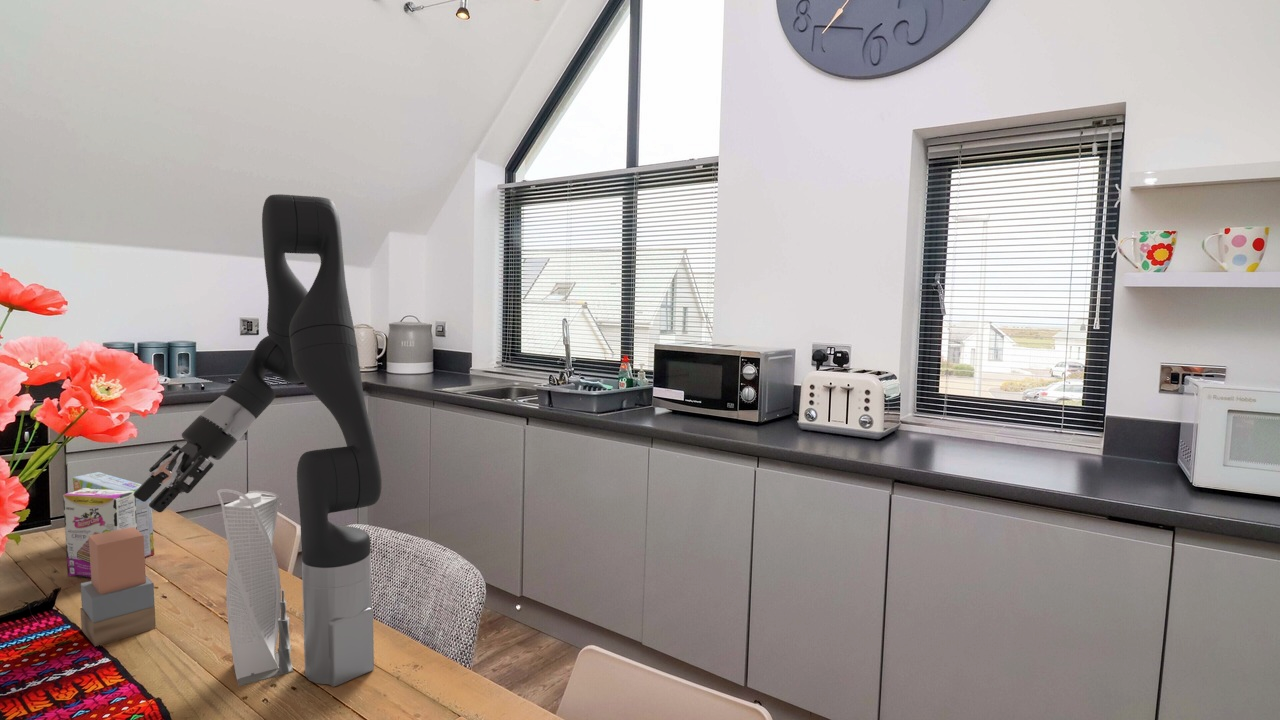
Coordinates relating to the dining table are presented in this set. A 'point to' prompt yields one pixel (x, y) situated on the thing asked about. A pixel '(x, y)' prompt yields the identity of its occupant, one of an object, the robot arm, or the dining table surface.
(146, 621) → the walnut block
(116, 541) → the salmon orange block
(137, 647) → the dining table surface
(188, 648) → the dining table surface
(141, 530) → the snack box
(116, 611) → the gray block
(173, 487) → the robot arm
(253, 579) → the twisted tower model
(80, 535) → the candy bar box
